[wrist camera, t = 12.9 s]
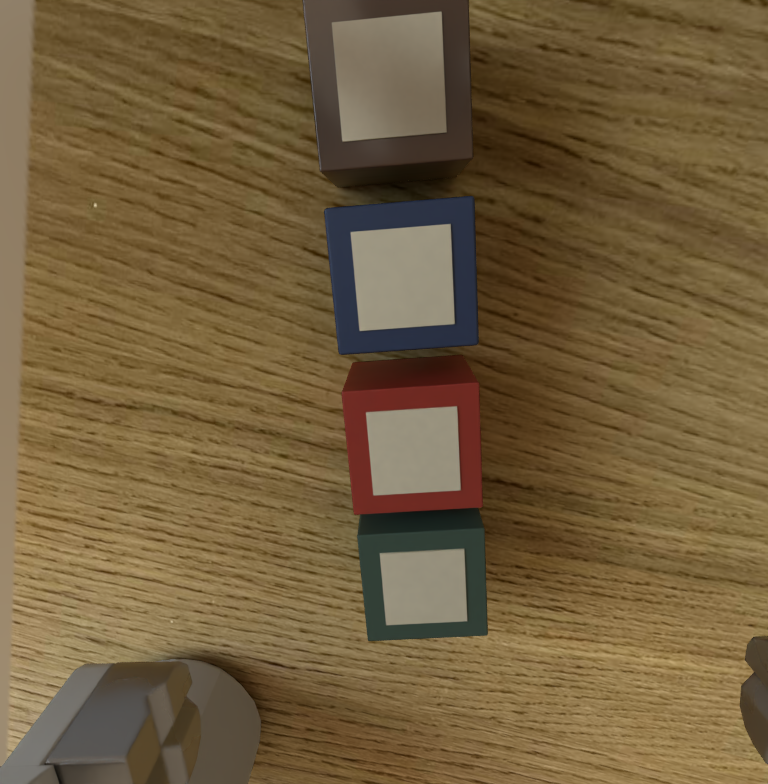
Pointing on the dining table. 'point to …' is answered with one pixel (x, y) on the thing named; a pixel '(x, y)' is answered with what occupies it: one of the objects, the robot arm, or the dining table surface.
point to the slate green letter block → (423, 574)
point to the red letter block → (413, 435)
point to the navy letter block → (404, 275)
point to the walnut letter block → (390, 89)
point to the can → (222, 726)
